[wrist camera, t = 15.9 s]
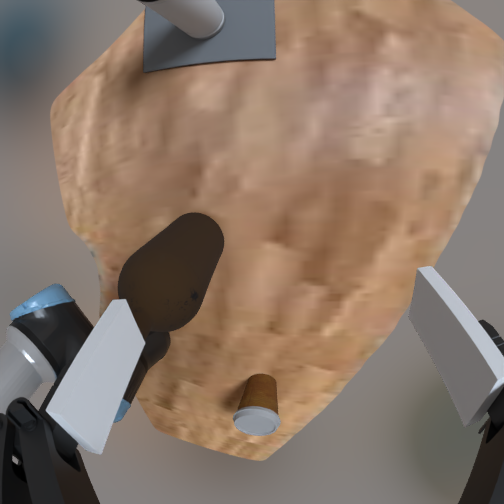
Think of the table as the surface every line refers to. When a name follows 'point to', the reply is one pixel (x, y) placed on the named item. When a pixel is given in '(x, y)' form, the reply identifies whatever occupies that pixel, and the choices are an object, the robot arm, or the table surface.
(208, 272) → the olive oil
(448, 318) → the robot arm
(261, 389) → the disposable coffee cup
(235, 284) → the table surface
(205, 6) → the travel mug
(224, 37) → the rubber mat
